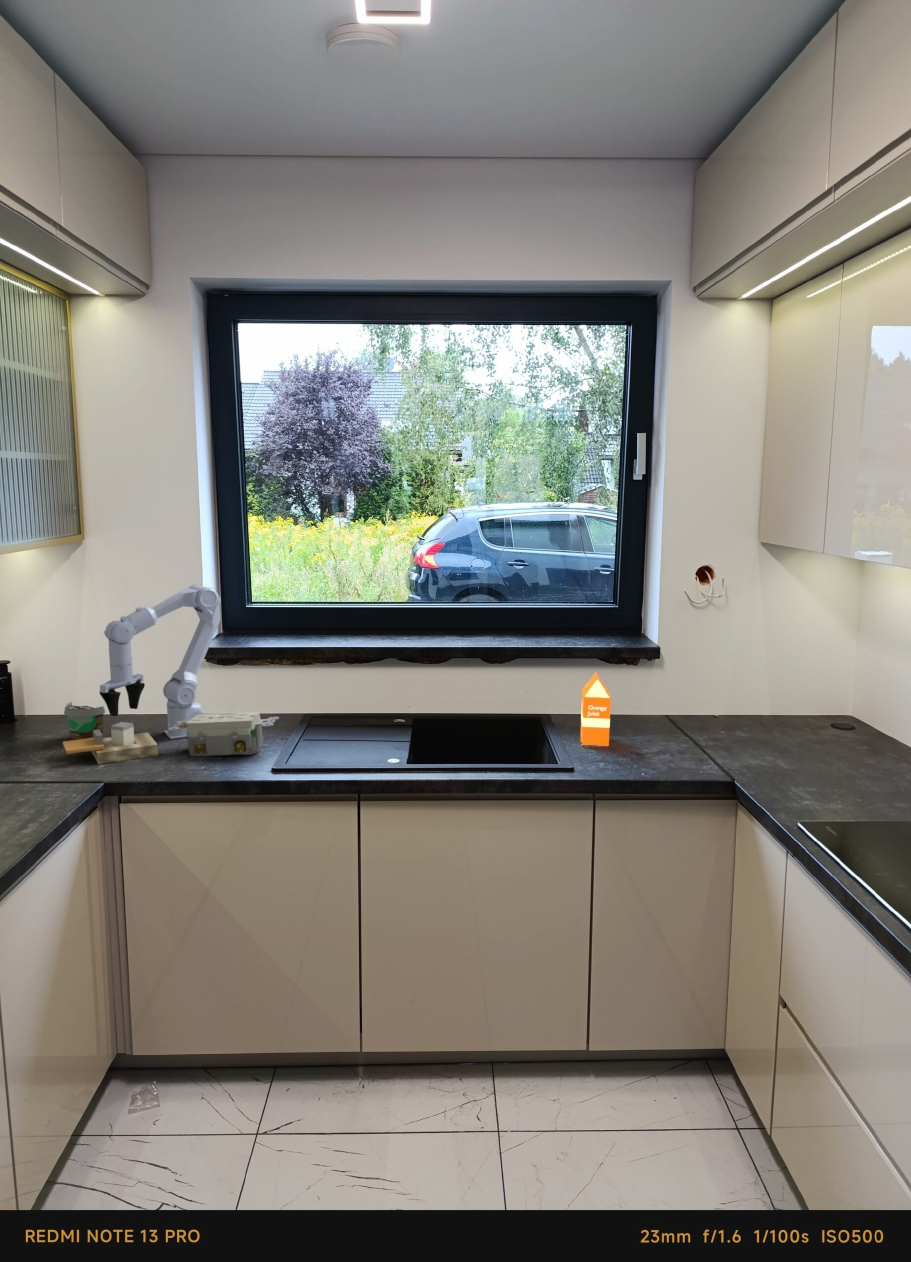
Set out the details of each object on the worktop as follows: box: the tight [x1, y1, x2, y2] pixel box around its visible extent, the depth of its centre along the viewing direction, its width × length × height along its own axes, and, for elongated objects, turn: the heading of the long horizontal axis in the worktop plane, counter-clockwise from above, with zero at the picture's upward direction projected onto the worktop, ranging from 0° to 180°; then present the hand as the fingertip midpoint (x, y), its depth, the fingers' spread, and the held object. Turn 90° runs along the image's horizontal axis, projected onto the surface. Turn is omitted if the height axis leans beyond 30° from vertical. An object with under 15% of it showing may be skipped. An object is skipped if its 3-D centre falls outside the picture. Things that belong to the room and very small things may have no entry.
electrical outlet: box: [167, 711, 280, 757], centre depth 230 cm, size 12×28×10 cm, turn 88°
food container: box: [63, 702, 106, 741], centre depth 237 cm, size 12×6×10 cm, turn 71°
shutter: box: [62, 729, 104, 755], centre depth 222 cm, size 9×9×3 cm
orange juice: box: [580, 672, 612, 746], centre depth 240 cm, size 8×9×20 cm
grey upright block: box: [110, 721, 135, 747], centre depth 227 cm, size 4×4×8 cm
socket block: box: [90, 731, 159, 765], centre depth 228 cm, size 15×13×3 cm
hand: (124, 712), depth 234 cm, fingers open, 7 cm apart
